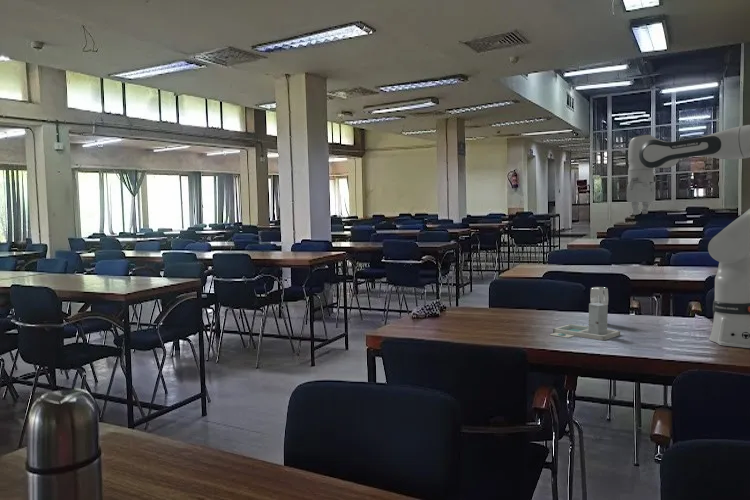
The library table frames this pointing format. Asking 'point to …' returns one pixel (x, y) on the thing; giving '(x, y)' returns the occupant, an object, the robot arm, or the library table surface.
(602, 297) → the beer glass
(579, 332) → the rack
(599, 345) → the library table surface
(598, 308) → the skincare box
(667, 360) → the library table surface
